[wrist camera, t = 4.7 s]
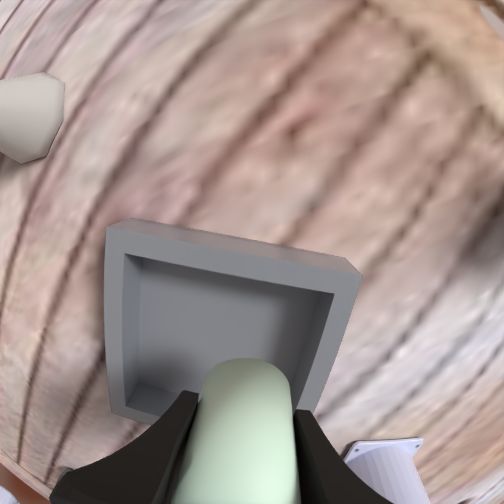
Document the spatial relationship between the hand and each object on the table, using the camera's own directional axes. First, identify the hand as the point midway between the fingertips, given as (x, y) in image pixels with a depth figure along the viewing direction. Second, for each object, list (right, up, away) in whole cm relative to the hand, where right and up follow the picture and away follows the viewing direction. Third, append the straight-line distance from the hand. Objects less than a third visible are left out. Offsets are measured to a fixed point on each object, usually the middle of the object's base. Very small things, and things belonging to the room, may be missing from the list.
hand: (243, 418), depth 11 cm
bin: (-2, +1, +8) cm, 9 cm away
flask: (-16, +17, +5) cm, 24 cm away
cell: (0, 0, +2) cm, 2 cm away
